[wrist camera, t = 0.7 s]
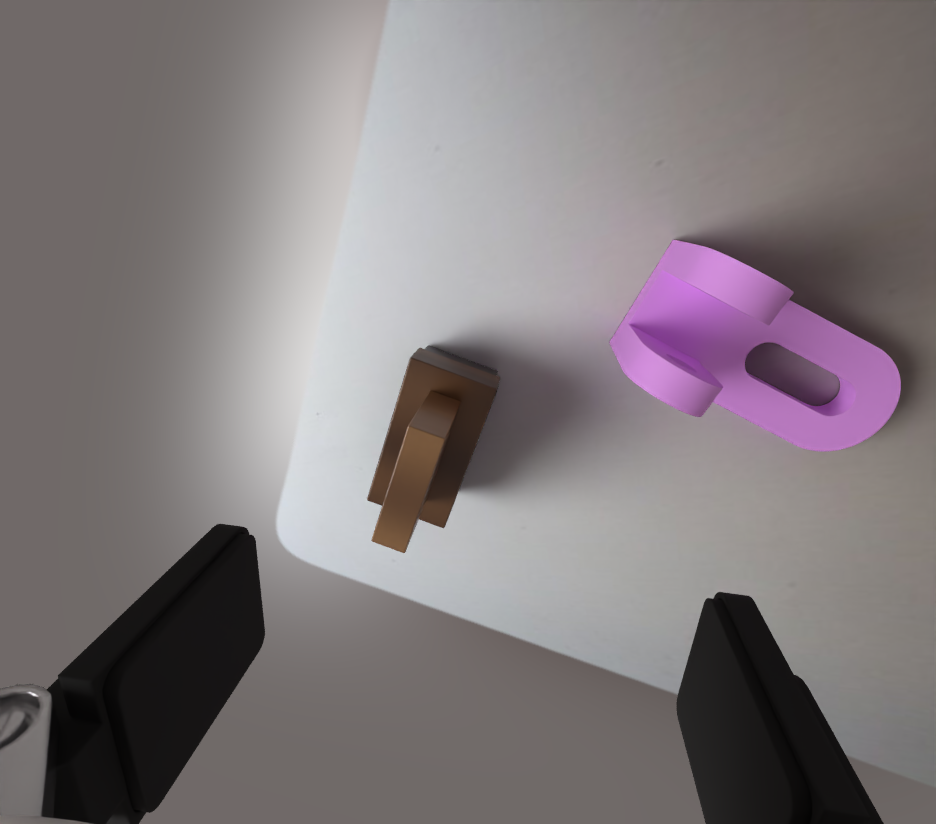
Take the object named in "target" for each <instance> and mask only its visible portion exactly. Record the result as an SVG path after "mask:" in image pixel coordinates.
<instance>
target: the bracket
mask: <svg viewBox="0 0 936 824" xmlns="http://www.w3.org/2000/svg"><path fill="white" fill-rule="evenodd" d="M793 293H794V292H793V291H792V290H790V289H789V288H788V287H786V286H784V285H783V284H781V283H779V282H778V281H776V280H774V279H772V278H771V277H769V276H767V275H765V274H763V273H761V272H760V271H758V270H756V269H754V268H752V267H750V266H748V265H746V264H744V263H742V262H740V261H738V260H736V259H734V258H731V257H729V256H727V255H725V254H723V253H720V252H718V251H716V250H713V249H711V248H708V247H705V246H700V245H696V244H691V243H687V242H682V241H678V240H673V241H672V242H671V244H670V245H669V247H668V249H667V250H666V252H665V253H664V255H663V257H662V258H661V260H660V262H659V263H658V265H657V266H656V268H655V270H654V271H653V273H652V274H651V276H650V278H649V279H648V281H647V282H646V284H645V286H644V287H643V289H642V291H641V292H640V294H639V295H638V297H637V299H636V300H635V302H634V303H633V305H632V307H631V308H630V310H629V311H628V313H627V315H626V316H625V318H624V320H623V321H622V323H621V324H620V326H619V328H618V329H617V331H616V332H615V334H614V336H613V337H612V339H611V340H610V342H609V343H610V345H611V347H612V349H613V351H614V353H615V355H616V357H617V359H618V362H619V364H620V366H621V368H622V370H623V372H624V373H625V374H626V375H627V376H628V377H629V378H630V379H631V380H632V381H633V382H634V383H636V384H637V385H638V386H640V387H641V388H642V389H644V390H645V391H647V392H648V393H650V394H651V395H653V396H654V397H656V398H658V399H659V400H661V401H663V402H665V403H666V404H668V405H670V406H672V407H674V408H676V409H678V410H680V411H682V412H685V413H687V414H690V415H692V416H696V417H701V416H702V415H703V414H704V413H705V411H706V410H707V409H708V407H709V406H710V405H711V403H712V402H714V403H716V404H718V405H720V406H722V407H724V408H726V409H727V410H729V411H731V412H733V413H735V414H737V415H739V416H741V417H743V418H745V419H746V420H748V421H750V422H752V423H754V424H756V425H758V426H760V427H762V428H764V429H766V430H767V431H769V432H771V433H773V434H775V435H777V436H779V437H781V438H783V439H785V440H787V441H788V442H790V443H792V444H794V445H796V446H799V447H801V448H804V449H808V450H813V451H835V450H840V449H844V448H848V447H851V446H853V445H856V444H858V443H860V442H862V441H864V440H866V439H867V438H869V437H870V436H872V435H873V434H874V433H876V432H877V431H878V430H879V429H880V428H881V427H882V426H883V425H884V424H885V423H886V422H887V421H888V419H889V418H890V417H891V415H892V413H893V412H894V410H895V408H896V406H897V403H898V400H899V396H900V390H901V380H900V375H899V372H898V369H897V367H896V365H895V363H894V362H893V360H892V359H891V358H890V357H889V356H888V354H886V353H885V352H884V351H883V350H881V349H880V348H878V347H876V346H874V345H873V344H871V343H869V342H867V341H865V340H863V339H861V338H860V337H858V336H856V335H854V334H852V333H850V332H848V331H847V330H845V329H843V328H841V327H839V326H837V325H835V324H834V323H832V322H830V321H828V320H826V319H824V318H822V317H820V316H819V315H817V314H815V313H813V312H811V311H809V310H807V309H806V308H804V307H802V306H800V305H798V304H796V303H794V302H793V301H791V300H789V298H790V297H791V296H792V294H793ZM767 342H772V343H776V344H779V345H781V346H783V347H784V348H786V349H788V350H790V351H792V352H794V353H796V354H798V355H799V356H801V357H803V358H805V359H807V360H809V361H811V362H813V363H814V364H816V365H818V366H820V367H822V368H824V369H826V370H828V371H829V372H831V373H833V374H835V375H836V376H837V377H838V378H839V381H840V390H839V393H838V395H837V396H836V397H835V398H834V399H833V400H832V401H831V402H829V403H827V404H825V405H822V406H811V405H808V404H806V403H804V402H802V401H800V400H798V399H797V398H795V397H793V396H791V395H789V394H787V393H785V392H783V391H781V390H780V389H778V388H776V387H774V386H772V385H770V384H768V383H766V382H764V381H763V380H761V379H759V378H757V377H755V376H753V375H751V374H749V373H747V372H746V369H745V359H746V357H747V355H748V353H749V352H750V351H751V350H752V349H753V348H754V347H756V346H757V345H759V344H762V343H767Z"/></svg>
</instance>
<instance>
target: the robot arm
mask: <svg viewBox="0 0 936 824" xmlns="http://www.w3.org/2000/svg"><path fill="white" fill-rule="evenodd" d="M264 636H265V629H264V618H263V608H262V600H261V589H260V580H259V569H258V560H257V550H256V541H255V538H254V536H252V535H249V532H248V530H247V528H245V527H240V526H233V525H225V524H218V525H216V526H214V527H213V528H212V529H211V530H210V531H209V532H208V533H207V534H206V535H205V536H204V537H203V538H201V539H200V540H199V541H198V542H197V543H196V544H195V545H194V546H193V547H192V548H191V549H190V550H189V551H188V552H187V553H186V554H185V555H184V556H183V557H182V558H181V559H179V560H178V561H177V562H176V563H175V564H174V565H173V566H172V567H171V568H170V569H169V570H168V571H167V572H166V573H165V574H164V575H163V576H162V577H161V578H160V579H159V580H158V581H156V582H155V583H154V584H153V585H152V586H151V587H150V588H149V589H148V590H147V591H146V592H145V593H144V594H143V595H142V596H141V597H140V598H139V599H138V600H137V601H135V602H134V604H132V605H131V606H130V607H129V608H128V609H127V610H126V611H125V612H124V613H123V614H122V615H121V616H120V617H119V618H118V619H117V620H116V621H115V622H113V623H112V624H111V625H110V626H109V627H108V628H107V629H106V630H105V631H104V632H103V633H102V634H101V635H100V636H99V637H98V638H97V639H96V640H95V641H94V642H93V643H92V644H90V645H89V646H88V647H87V649H85V650H84V651H83V652H82V653H81V654H80V655H79V656H78V657H77V658H76V659H75V660H74V661H73V662H72V663H71V664H70V665H68V666H67V667H66V668H65V669H64V670H63V671H62V672H61V673H60V674H59V675H58V679H57V680H56V681H55V682H54V683H53V684H52V685H51V686H50V687H49V688H48V689H47V690H46V689H45V688H44V687H40V686H37V685H33V684H25V685H15V686H10V687H6V688H2V689H0V824H139V822H140V821H141V819H142V818H143V816H144V815H145V813H146V812H149V813H150V812H152V811H154V810H155V809H156V808H157V807H158V806H159V805H160V803H161V802H162V800H163V799H164V797H165V795H166V794H167V792H168V791H169V789H170V788H171V786H172V785H173V783H174V782H175V780H176V779H177V777H178V776H179V774H180V773H181V771H182V769H183V768H184V766H185V765H186V763H187V762H188V760H189V759H190V757H191V756H192V754H193V752H194V751H195V749H196V748H197V746H198V745H199V743H200V742H201V740H202V738H203V737H204V735H205V734H206V732H207V731H208V729H209V728H210V726H211V725H212V723H213V722H214V720H215V719H216V717H217V715H218V714H219V712H220V711H221V709H222V708H223V706H224V705H225V703H226V702H227V700H228V698H229V697H230V695H231V694H232V692H233V691H234V689H235V688H236V686H237V685H238V683H239V681H240V680H241V678H242V677H243V675H244V673H245V672H246V671H247V669H248V667H249V666H250V664H251V663H252V661H253V660H254V658H255V657H256V655H257V654H258V652H259V650H260V648H261V647H262V644H263V640H264ZM677 715H678V720H679V724H680V728H681V731H682V735H683V739H684V742H685V747H686V750H687V754H688V758H689V762H690V765H691V769H692V773H693V777H694V781H695V784H696V788H697V792H698V796H699V799H700V803H701V807H702V811H703V815H704V818H705V822H706V824H884V823H883V822H882V820H881V818H880V816H879V814H878V813H877V811H876V809H875V807H874V806H873V804H872V802H871V800H870V799H869V796H868V795H867V793H866V791H865V789H864V787H863V786H862V784H861V782H860V780H859V778H858V777H857V775H856V773H855V771H854V770H853V768H852V766H851V764H850V762H849V761H848V759H847V757H846V755H845V753H844V751H843V750H842V748H841V746H840V744H839V742H838V741H837V739H836V737H835V735H834V733H833V732H832V730H831V728H830V726H829V724H828V723H827V721H826V719H825V717H824V715H823V714H822V712H821V710H820V708H819V706H818V705H817V703H816V701H815V699H814V697H813V696H812V694H811V692H810V690H809V688H808V687H807V685H806V684H805V683H804V681H803V680H802V679H801V678H799V677H798V676H796V675H794V674H793V673H792V671H791V669H790V667H789V665H788V663H787V661H786V660H785V658H784V656H783V654H782V652H781V650H780V648H779V647H778V645H777V643H776V641H775V639H774V637H773V636H772V634H771V632H770V630H769V628H768V626H767V624H766V623H765V621H764V619H763V617H762V615H761V613H760V611H759V610H758V608H757V606H756V604H755V602H754V601H753V599H752V598H751V597H749V596H745V595H738V594H730V593H723V592H718V593H717V594H716V595H715V597H714V599H711V598H707V599H706V600H705V602H704V605H703V609H702V612H701V616H700V619H699V623H698V626H697V630H696V633H695V637H694V640H693V644H692V647H691V651H690V654H689V658H688V661H687V665H686V668H685V672H684V675H683V679H682V682H681V686H680V689H679V693H678V697H677Z"/></svg>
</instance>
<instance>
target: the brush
mask: <svg viewBox="0 0 936 824" xmlns="http://www.w3.org/2000/svg"><path fill="white" fill-rule="evenodd" d="M497 373H498V371H497V370H494V369H491V368H489V367H486V366H483V365H480V364H478V363H475V362H472V361H470V360H467V359H464V358H461V357H459V356H456V355H453V354H450V353H448V352H445V351H442V350H440V349H437V348H434V347H431V346H427V347H426V348H425V349H422V348H419V349H418V350H417V351H416V352H415V353H414V354H413V355H412V356H411V358H410V360H409V363H408V366H407V369H406V373H405V376H404V379H403V383H402V386H401V389H400V393H399V396H398V399H397V402H396V406H395V409H394V412H393V416H392V419H391V422H390V425H389V429H388V432H387V435H386V439H385V442H384V445H383V448H382V452H381V455H380V458H379V462H378V465H377V468H376V472H375V475H374V478H373V481H372V485H371V488H370V491H369V495H368V498H367V500H368V501H371V502H374V503H377V504H379V505H382V509H381V512H380V515H379V518H378V521H377V524H376V527H375V530H374V534H373V537H372V542H375V543H378V544H381V545H383V546H386V547H389V548H391V549H394V550H397V551H400V552H402V553H405V552H406V549H407V547H408V544H409V542H410V539H411V537H412V534H413V532H414V530H415V527H416V525H417V522H418V520H419V519H420V520H423V521H425V522H428V523H431V524H433V525H436V526H439V527H442V528H444V527H445V525H446V522H447V520H448V517H449V515H450V512H451V509H452V507H453V504H454V502H455V499H456V496H457V494H458V491H459V489H460V486H461V483H462V481H463V478H464V475H465V473H466V470H467V468H468V465H469V462H470V460H471V457H472V455H473V452H474V449H475V447H476V444H477V442H478V439H479V436H480V434H481V431H482V429H483V426H484V423H485V421H486V418H487V416H488V413H489V410H490V408H491V405H492V402H493V400H494V397H495V395H496V392H497V389H498V385H499V381H500V377H498V376H497Z"/></svg>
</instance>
